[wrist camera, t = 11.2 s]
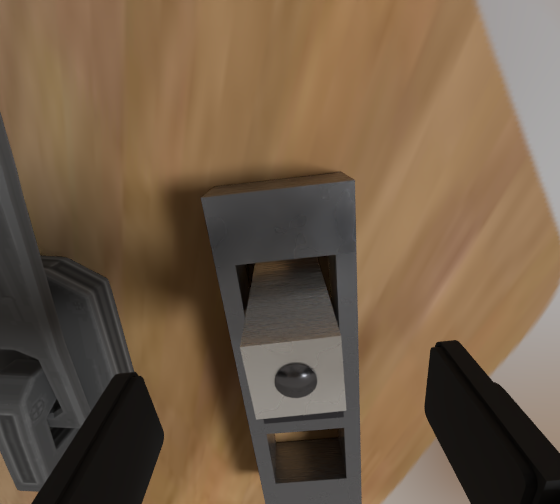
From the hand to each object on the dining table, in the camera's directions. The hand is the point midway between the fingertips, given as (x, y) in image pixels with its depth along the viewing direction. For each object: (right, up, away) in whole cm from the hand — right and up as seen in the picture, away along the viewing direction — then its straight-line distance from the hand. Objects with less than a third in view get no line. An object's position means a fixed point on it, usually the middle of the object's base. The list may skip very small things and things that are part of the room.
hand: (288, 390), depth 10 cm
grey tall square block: (0, +3, +9) cm, 9 cm away
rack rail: (+1, -3, +11) cm, 11 cm away
